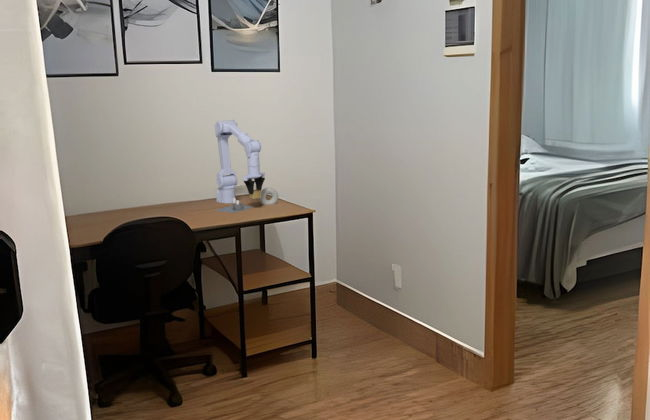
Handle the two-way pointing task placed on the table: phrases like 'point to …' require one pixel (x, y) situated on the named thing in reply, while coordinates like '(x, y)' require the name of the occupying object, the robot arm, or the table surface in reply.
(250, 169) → the robot arm
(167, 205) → the table surface
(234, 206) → the fixed gear
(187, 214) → the table surface
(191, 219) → the table surface
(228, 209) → the gear board
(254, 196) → the brass gear
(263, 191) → the donut
